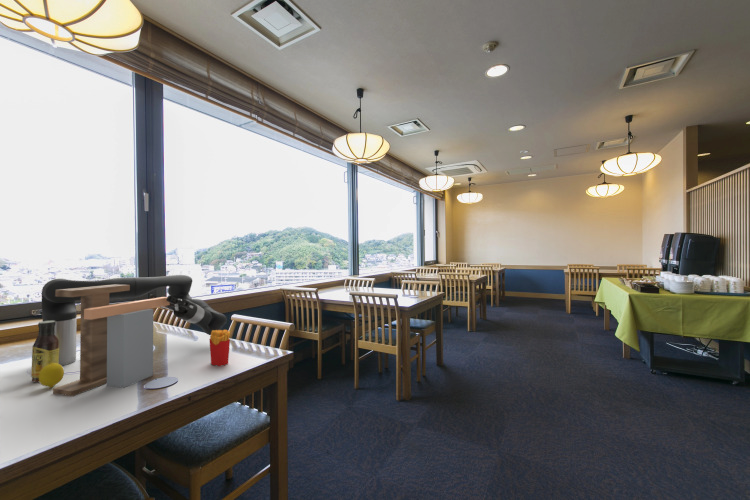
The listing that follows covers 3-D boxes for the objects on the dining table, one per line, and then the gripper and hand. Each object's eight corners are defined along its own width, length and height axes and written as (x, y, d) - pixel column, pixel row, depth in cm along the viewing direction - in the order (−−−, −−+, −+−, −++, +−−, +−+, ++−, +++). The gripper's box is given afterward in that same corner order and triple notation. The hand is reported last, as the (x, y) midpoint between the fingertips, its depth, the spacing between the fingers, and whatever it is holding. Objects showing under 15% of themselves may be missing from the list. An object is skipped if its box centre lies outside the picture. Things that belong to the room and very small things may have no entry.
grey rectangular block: (106, 385, 97) (107, 313, 98) (137, 373, 107) (137, 308, 107) (123, 387, 96) (123, 314, 96) (152, 375, 106) (153, 309, 106)
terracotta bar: (83, 319, 90) (84, 309, 90) (163, 304, 115) (163, 296, 115) (91, 319, 89) (91, 309, 89) (169, 304, 114) (169, 297, 114)
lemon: (46, 392, 93) (47, 366, 93) (33, 390, 94) (33, 365, 94) (68, 384, 98) (68, 360, 98) (55, 382, 99) (55, 358, 100)
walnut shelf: (53, 393, 92) (54, 289, 92) (112, 372, 108) (113, 284, 109) (72, 396, 90) (73, 290, 90) (130, 374, 107) (130, 284, 107)
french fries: (206, 363, 116) (207, 330, 117) (216, 360, 120) (216, 328, 121) (224, 367, 113) (224, 333, 113) (233, 363, 117) (233, 330, 117)
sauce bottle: (27, 381, 101) (28, 322, 101) (52, 374, 106) (53, 318, 107) (37, 384, 98) (37, 324, 98) (62, 377, 104) (63, 320, 104)
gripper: (200, 321, 121) (169, 307, 108) (171, 319, 125) (138, 306, 111) (207, 304, 125) (178, 288, 112) (179, 302, 128) (148, 287, 115)
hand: (158, 297), depth 111 cm, fingers open, 8 cm apart
